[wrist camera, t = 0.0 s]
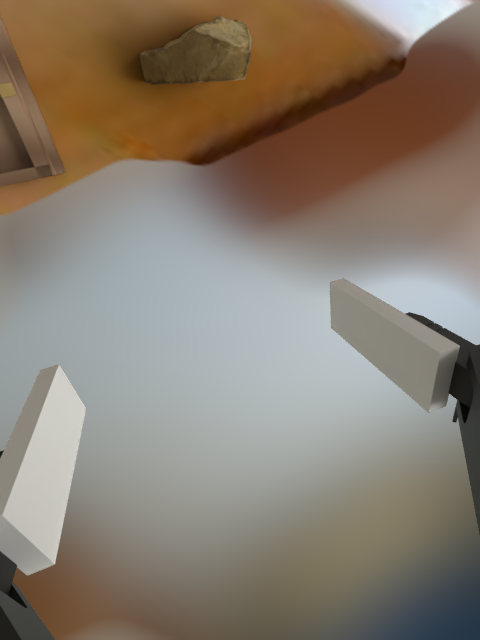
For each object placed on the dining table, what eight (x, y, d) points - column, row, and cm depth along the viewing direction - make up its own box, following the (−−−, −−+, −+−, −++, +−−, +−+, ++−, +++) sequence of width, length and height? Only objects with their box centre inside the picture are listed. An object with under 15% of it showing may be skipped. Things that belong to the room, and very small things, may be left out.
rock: (129, 107, 30) (227, 139, 33) (123, 8, 22) (253, 60, 25) (149, 26, 33) (238, 61, 35) (150, -90, 25) (265, -34, 27)
